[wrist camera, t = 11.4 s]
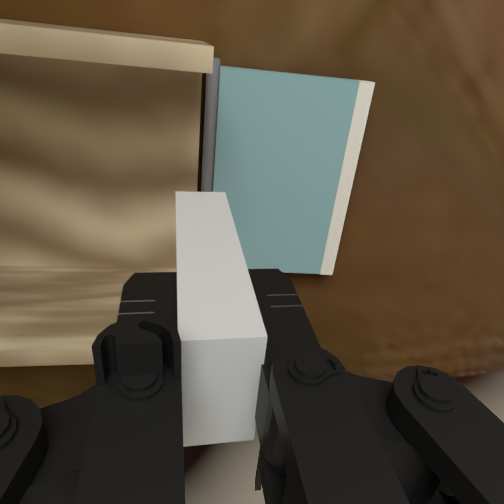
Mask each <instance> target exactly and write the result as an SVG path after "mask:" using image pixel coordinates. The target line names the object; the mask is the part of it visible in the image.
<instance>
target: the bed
mask: <svg viewBox="0 0 504 504" xmlns="http://www.w3.org/2000/svg"><path fill="white" fill-rule="evenodd" d="M213 53H214V47H213V46H211V45H209V44H208V43H206V42H204V41H199V40H190V39H181V38H172V37H163V36H154V35H144V34H135V33H126V32H117V31H108V30H99V29H90V28H81V27H72V26H63V25H53V24H44V23H35V22H26V21H17V20H8V19H0V367H13V366H48V365H82V364H94V360H93V353H92V347H91V346H92V344H93V342H94V341H95V339H96V337H97V335H98V334H99V333H100V332H102V331H103V330H104V329H105V328H106V327H108V326H109V325H111V324H113V323H116V322H117V317H118V311H119V305H120V303H121V294H122V289H123V285H124V284H125V283H126V282H127V280H128V279H129V278H130V277H131V276H132V275H133V274H134V273H144V272H176V192H175V191H182V192H197V182H198V158H199V133H200V109H201V84H202V73H210V74H212V72H213Z"/></svg>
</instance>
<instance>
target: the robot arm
mask: <svg viewBox="0 0 504 504" xmlns="http://www.w3.org/2000/svg"><path fill="white" fill-rule="evenodd" d="M175 192H176V272H144V273H134V274H133V275H132V276H131V277H130V278H129V279H128V280H127V282H126V283H125V284H124V285H123V289H122V294H121V303H120V305H119V311H118V317H117V322H116V323H113V324H111V325H109V326H108V327H106V328H105V329H104V330H103V331H102V332H100V333H99V334H98V335H97V337H96V339H95V341H94V342H93V344H92V346H91V347H92V353H93V360H94V367H95V374H96V381H97V383H96V384H95V385H94V386H92V387H91V388H90V389H88V390H87V391H85V392H83V393H82V394H80V395H78V396H75V397H73V398H71V399H68V400H65V401H62V402H59V403H56V404H53V405H50V406H47V407H44V408H41V409H40V408H39V407H38V406H37V405H36V404H35V403H34V402H33V401H32V400H30V399H27V398H24V397H20V396H17V395H13V396H0V504H185V484H184V452H183V451H184V449H183V447H184V446H194V445H204V444H215V443H224V442H234V441H235V442H236V441H246V440H254V435H255V428H256V426H257V431H258V436H259V441H260V451H259V457H258V464H257V471H256V478H255V490H261V484H262V488H263V494H264V498H265V504H504V423H503V422H502V421H501V420H500V419H499V418H498V417H497V416H496V415H495V414H493V413H492V412H491V411H490V410H489V409H488V408H487V407H486V406H485V405H484V404H483V403H482V402H481V401H479V400H478V399H477V398H476V397H475V396H474V395H473V394H472V393H471V392H470V391H469V390H468V389H466V388H465V387H464V386H463V385H462V384H461V383H459V382H458V381H457V380H455V379H454V378H453V377H451V376H450V375H448V374H446V373H444V372H442V371H439V370H437V369H435V368H431V367H426V366H420V365H417V366H408V367H405V368H403V369H402V370H400V371H398V372H397V374H396V376H395V378H394V381H393V383H392V382H387V381H382V380H377V379H372V378H366V377H362V376H358V375H355V374H352V373H349V372H347V371H346V370H345V368H344V366H343V365H342V364H341V362H340V361H339V360H338V358H336V357H335V356H333V355H332V354H331V353H329V352H328V351H326V350H324V349H321V347H320V345H319V342H318V340H317V338H316V336H315V333H314V331H313V329H312V327H311V324H310V322H309V320H308V317H307V315H306V313H305V311H304V308H303V307H302V306H301V302H300V299H299V297H298V295H297V293H296V290H295V288H294V286H293V284H292V281H291V279H289V278H288V277H287V276H286V275H285V274H284V273H283V272H281V271H280V270H279V269H278V268H277V269H248V268H247V265H246V261H245V258H244V255H243V251H242V248H241V244H240V241H239V238H238V234H237V231H236V227H235V224H234V220H233V217H232V214H231V210H230V207H229V203H228V200H227V196H226V193H225V192H182V191H175Z"/></svg>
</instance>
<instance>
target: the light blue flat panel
mask: <svg viewBox="0 0 504 504" xmlns="http://www.w3.org/2000/svg"><path fill="white" fill-rule="evenodd" d="M220 62H221V59H220V58H213V72H212V74H210V73H206V88H205V111H204V133H203V155H202V177H201V192H225V193H226V196H227V200H228V203H229V207H230V210H231V214H232V217H233V220H234V224H235V227H236V231H237V234H238V238H239V241H240V244H241V248H242V251H243V255H244V258H245V261H246V265H247V268H248V269H277V268H278V269H279V270H280V271H281V272H285V273H309V274H320V275H332V274H333V270H334V265H335V261H336V256H337V252H338V247H339V243H340V238H341V234H342V229H343V225H344V220H345V216H346V211H347V207H348V202H349V198H350V193H351V189H352V184H353V180H354V175H355V171H356V166H357V162H358V157H359V153H360V148H361V144H362V139H363V135H364V130H365V126H366V121H367V117H368V112H369V108H370V103H371V99H372V94H373V90H374V85H375V83H374V82H371V81H364V80H353V79H344V78H334V77H324V76H315V75H305V74H296V73H286V72H276V71H267V70H257V69H248V68H238V67H228V66H220Z"/></svg>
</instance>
